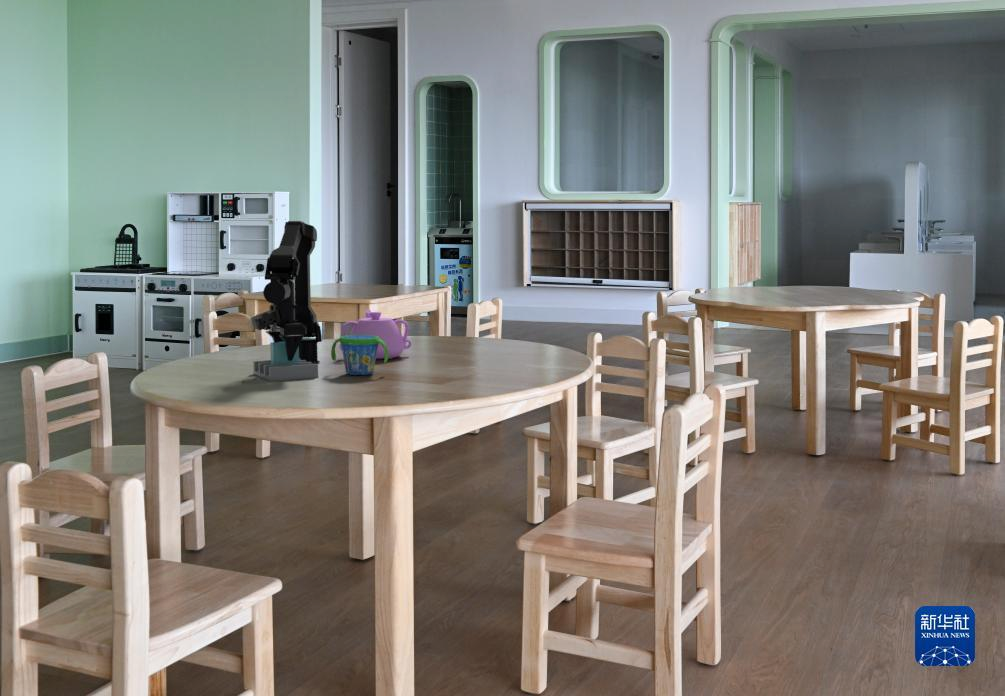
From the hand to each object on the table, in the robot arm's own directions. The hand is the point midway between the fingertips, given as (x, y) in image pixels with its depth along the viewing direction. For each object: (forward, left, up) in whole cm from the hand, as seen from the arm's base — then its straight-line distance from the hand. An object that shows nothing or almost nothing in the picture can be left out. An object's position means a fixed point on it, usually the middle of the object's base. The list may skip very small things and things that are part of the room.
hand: (285, 359), depth 291 cm
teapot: (-36, -25, -5) cm, 44 cm away
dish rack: (0, 0, -4) cm, 4 cm away
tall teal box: (0, 0, -4) cm, 4 cm away
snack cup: (-18, +7, -5) cm, 20 cm away
